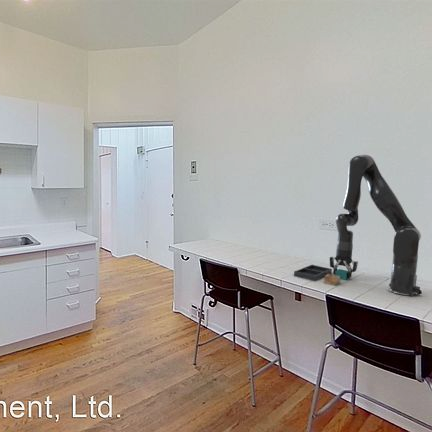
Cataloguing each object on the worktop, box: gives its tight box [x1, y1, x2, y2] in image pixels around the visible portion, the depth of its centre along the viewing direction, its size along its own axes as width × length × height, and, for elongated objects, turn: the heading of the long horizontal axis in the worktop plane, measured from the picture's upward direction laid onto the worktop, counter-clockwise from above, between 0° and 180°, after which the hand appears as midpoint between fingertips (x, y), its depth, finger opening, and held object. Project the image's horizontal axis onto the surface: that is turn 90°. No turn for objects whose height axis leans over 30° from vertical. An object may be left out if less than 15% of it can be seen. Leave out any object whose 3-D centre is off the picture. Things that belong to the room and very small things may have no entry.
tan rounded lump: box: [323, 273, 341, 286], centre depth 165 cm, size 6×6×4 cm
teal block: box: [335, 268, 349, 281], centre depth 173 cm, size 6×6×4 cm
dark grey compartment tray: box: [293, 264, 333, 282], centre depth 179 cm, size 12×22×3 cm, turn 127°
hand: (342, 276), depth 173 cm, fingers open, 6 cm apart
